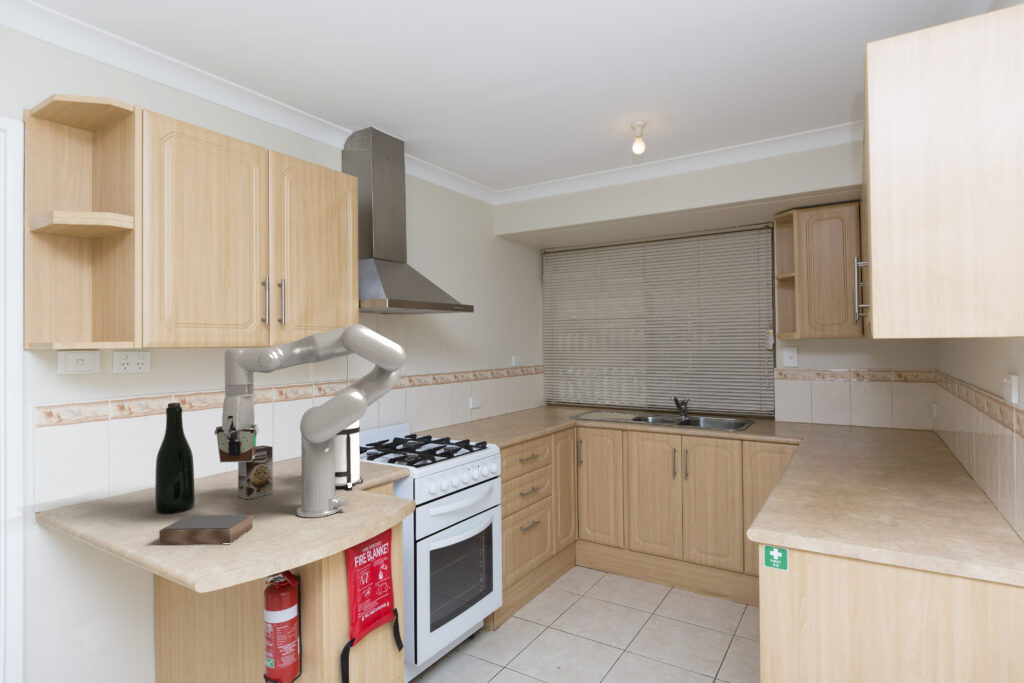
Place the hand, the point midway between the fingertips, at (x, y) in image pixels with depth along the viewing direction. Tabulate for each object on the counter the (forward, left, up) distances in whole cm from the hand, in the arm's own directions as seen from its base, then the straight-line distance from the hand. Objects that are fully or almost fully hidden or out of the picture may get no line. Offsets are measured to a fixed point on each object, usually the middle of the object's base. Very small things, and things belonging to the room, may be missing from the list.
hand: (240, 452), depth 162 cm
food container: (0, -1, -2) cm, 2 cm away
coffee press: (-18, -35, -20) cm, 44 cm away
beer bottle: (+26, -11, -20) cm, 34 cm away
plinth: (+2, +14, -19) cm, 24 cm away
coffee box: (+8, -26, -20) cm, 33 cm away
